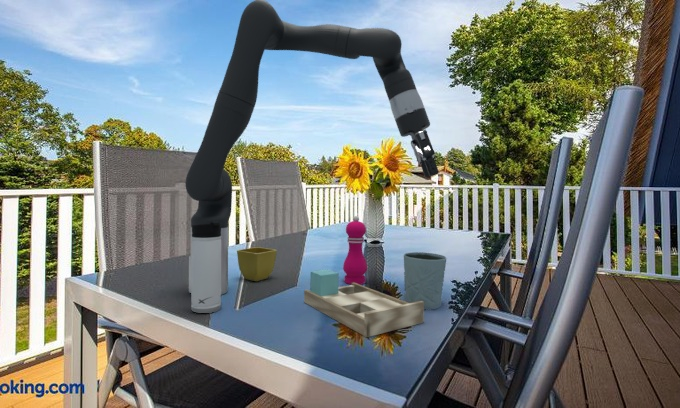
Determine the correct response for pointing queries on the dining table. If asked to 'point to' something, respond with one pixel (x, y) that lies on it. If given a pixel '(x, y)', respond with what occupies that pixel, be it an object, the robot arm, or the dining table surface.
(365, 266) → the pepper mill
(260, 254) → the flower pot
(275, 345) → the dining table surface
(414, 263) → the grey green cup
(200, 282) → the travel mug
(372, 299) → the tray
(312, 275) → the teal block
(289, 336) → the dining table surface
